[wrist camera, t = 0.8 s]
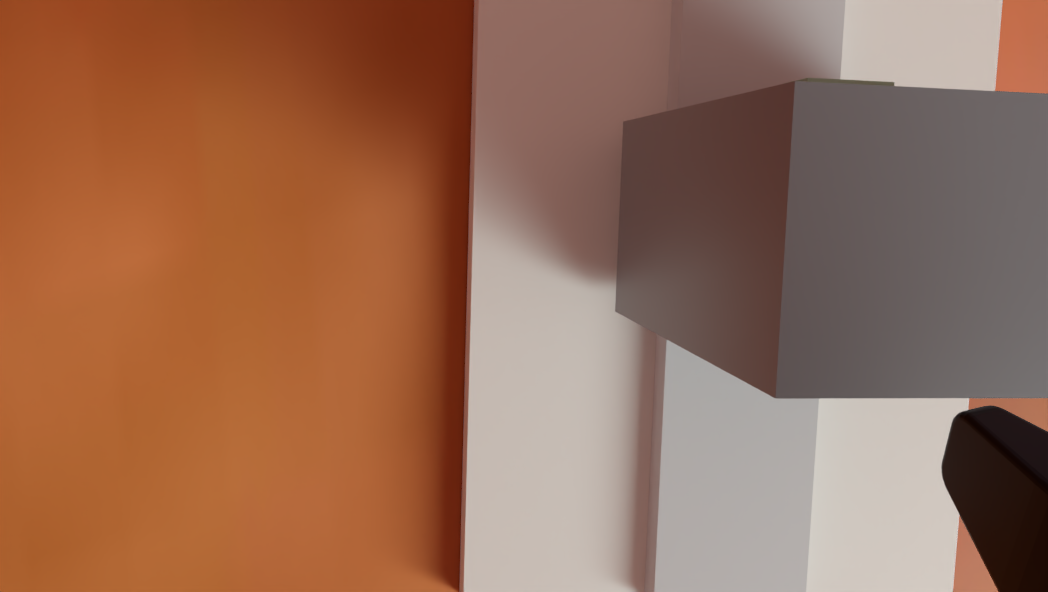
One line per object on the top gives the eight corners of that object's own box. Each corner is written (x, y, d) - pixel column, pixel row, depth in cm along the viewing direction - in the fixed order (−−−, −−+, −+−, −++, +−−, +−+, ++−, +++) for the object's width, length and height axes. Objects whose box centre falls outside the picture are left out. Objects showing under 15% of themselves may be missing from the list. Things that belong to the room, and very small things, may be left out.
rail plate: (929, 578, 25) (1003, 631, 22) (459, 593, 23) (471, 654, 20) (997, -251, 23) (1090, -316, 20) (482, -308, 21) (499, -388, 18)
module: (877, 314, 22) (1189, 397, 13) (614, 311, 21) (775, 398, 13) (892, 105, 21) (1227, 56, 13) (624, 92, 20) (798, 31, 12)
